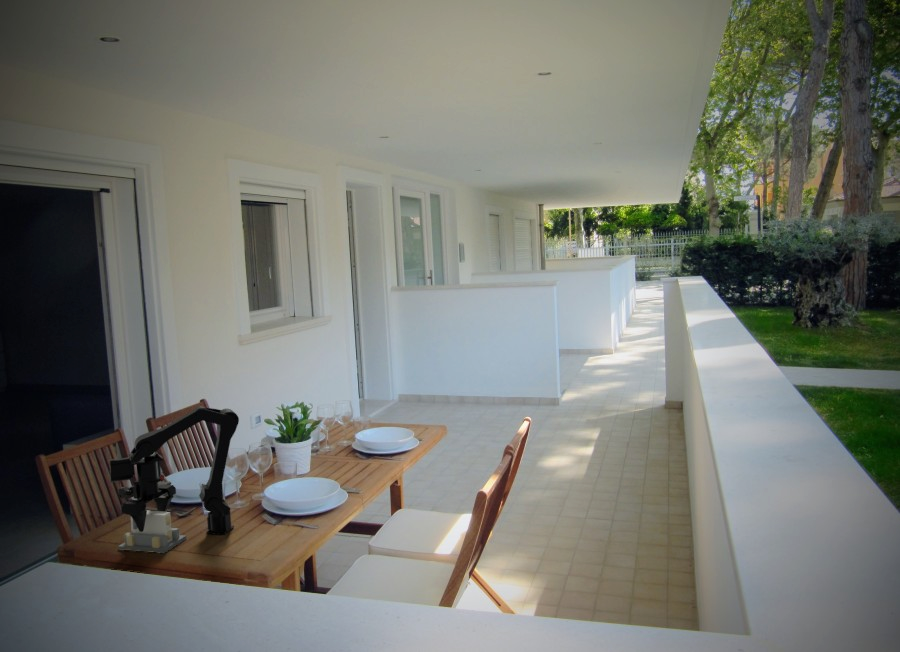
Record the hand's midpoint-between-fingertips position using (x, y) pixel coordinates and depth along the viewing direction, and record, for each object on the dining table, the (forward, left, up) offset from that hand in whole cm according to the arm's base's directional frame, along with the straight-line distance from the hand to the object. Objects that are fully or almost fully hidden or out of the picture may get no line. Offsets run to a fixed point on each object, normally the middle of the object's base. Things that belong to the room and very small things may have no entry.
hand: (151, 525), depth 215 cm
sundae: (+15, -25, -6) cm, 30 cm away
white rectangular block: (0, 0, -5) cm, 5 cm away
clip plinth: (0, 0, -6) cm, 6 cm away
